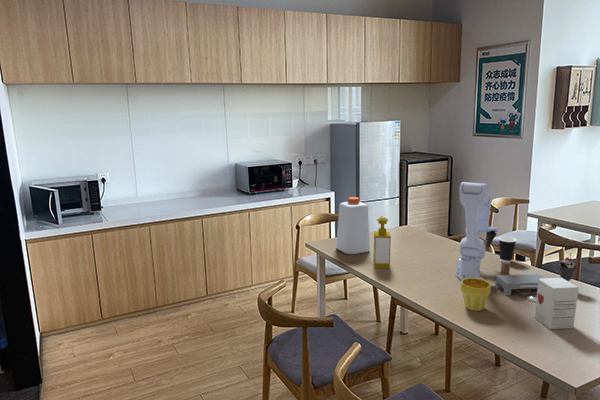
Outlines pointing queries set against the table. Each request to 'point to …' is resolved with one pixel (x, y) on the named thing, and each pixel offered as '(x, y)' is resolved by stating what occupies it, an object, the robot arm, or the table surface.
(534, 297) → the steel disc
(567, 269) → the sundae
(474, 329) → the table surface
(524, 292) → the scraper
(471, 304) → the plant pot
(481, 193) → the robot arm
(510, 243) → the dixie cup
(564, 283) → the supplement box
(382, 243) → the soap bottle
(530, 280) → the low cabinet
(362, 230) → the plastic bottle
